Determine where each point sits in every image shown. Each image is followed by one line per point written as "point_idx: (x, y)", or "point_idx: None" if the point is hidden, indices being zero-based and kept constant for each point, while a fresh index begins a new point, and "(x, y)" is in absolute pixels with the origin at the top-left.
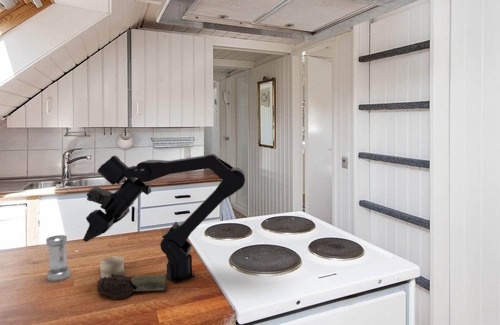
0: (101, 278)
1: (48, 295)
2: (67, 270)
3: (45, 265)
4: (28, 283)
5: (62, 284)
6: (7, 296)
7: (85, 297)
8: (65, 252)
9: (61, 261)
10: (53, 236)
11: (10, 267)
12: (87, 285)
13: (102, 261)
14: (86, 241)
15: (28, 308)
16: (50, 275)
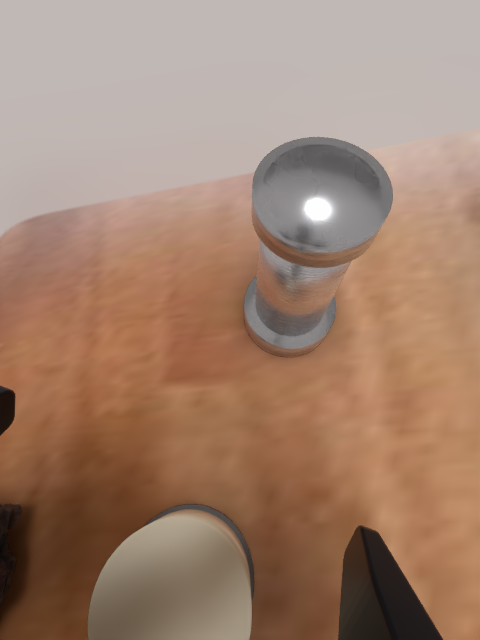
0: (165, 512)
1: (122, 304)
2: (278, 339)
3: (438, 249)
4: None
5: (203, 338)
6: (181, 192)
7: (19, 443)
8: (297, 294)
9: (262, 295)
10: (368, 165)
11: (441, 149)
12: (141, 443)
13: (181, 535)
14: None
15: (52, 262)
16: (254, 280)
